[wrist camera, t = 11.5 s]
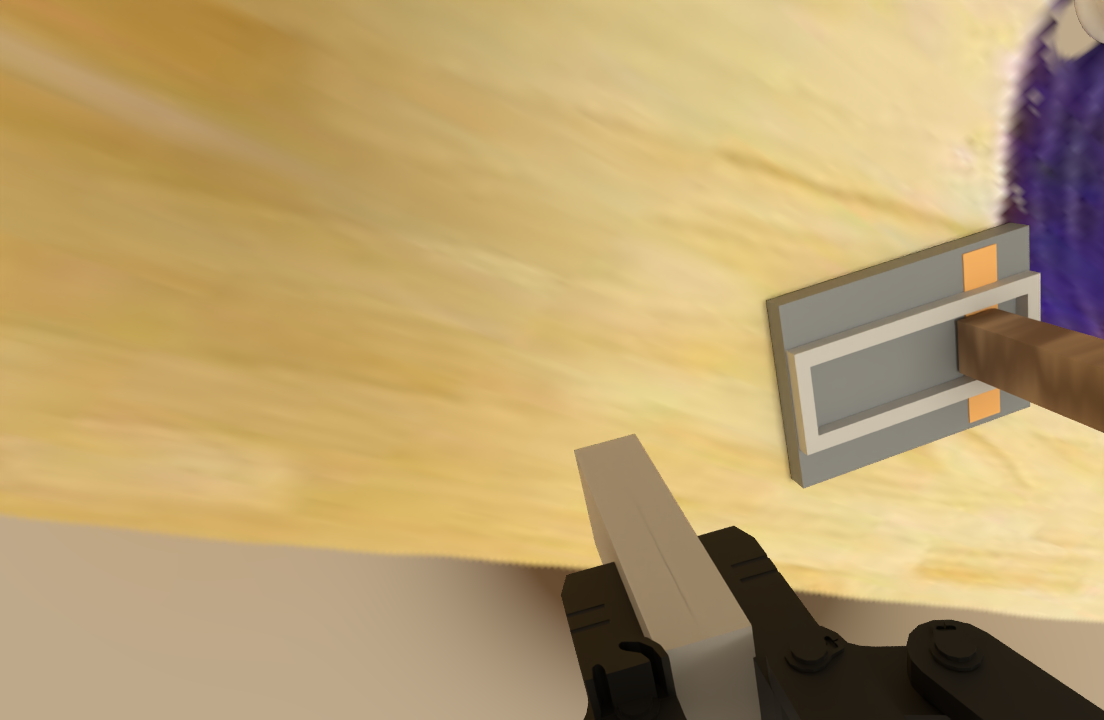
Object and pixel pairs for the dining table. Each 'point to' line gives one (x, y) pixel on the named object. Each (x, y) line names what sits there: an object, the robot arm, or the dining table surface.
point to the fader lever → (1036, 363)
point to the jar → (1091, 17)
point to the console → (893, 352)
